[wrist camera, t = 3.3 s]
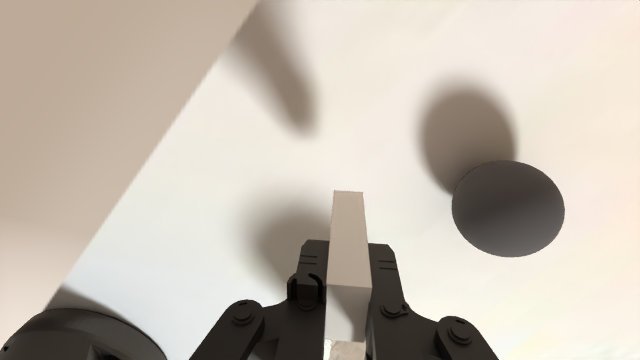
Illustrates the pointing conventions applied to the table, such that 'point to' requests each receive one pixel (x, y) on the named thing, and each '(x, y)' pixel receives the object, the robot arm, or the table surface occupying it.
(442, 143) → the table surface
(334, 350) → the white cup
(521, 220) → the dark grey sphere
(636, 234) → the table surface
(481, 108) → the table surface
